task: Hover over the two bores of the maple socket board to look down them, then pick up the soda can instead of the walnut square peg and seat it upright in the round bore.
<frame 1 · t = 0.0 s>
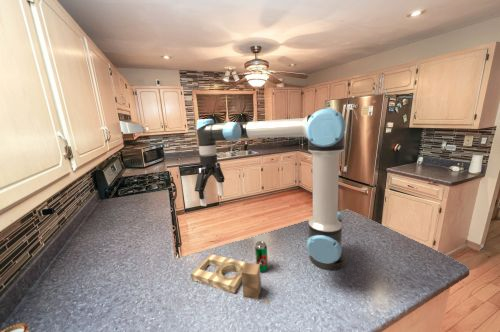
hand: (212, 200, 95), 28 cm above the countertop, fingers open, 13 cm apart
socket board: (221, 274, 87), on the countertop
soda can: (262, 269, 89), on the countertop
walnut square peg: (252, 292, 77), on the countertop
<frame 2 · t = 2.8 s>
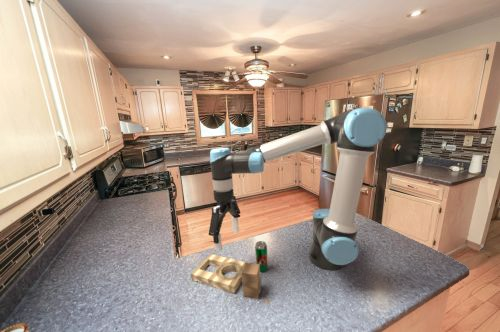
hand: (227, 240, 82), 17 cm above the countertop, fingers open, 13 cm apart
nothing on the countertop moved.
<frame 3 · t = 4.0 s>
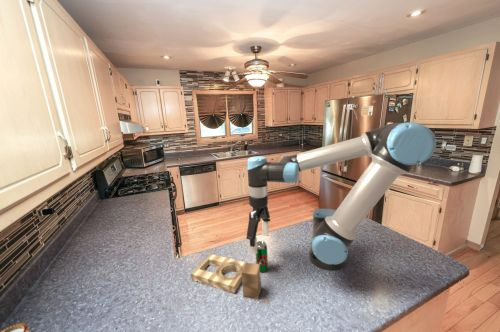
hand: (260, 243, 86), 12 cm above the countertop, fingers open, 13 cm apart
nothing on the countertop moved.
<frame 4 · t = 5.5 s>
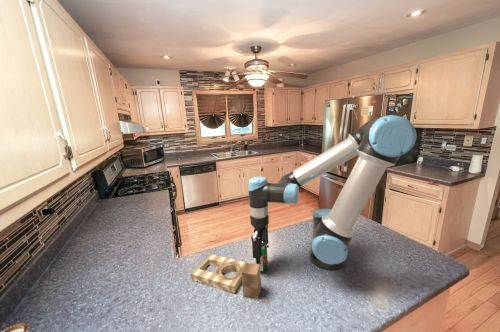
hand: (261, 265, 88), 2 cm above the countertop, fingers closed on soda can, 5 cm apart
soda can: (262, 269, 89), on the countertop, touching gripper
everything else where it was.
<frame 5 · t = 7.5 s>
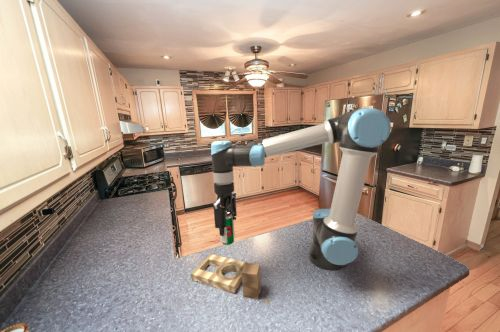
hand: (227, 238, 82), 17 cm above the countertop, fingers closed on soda can, 5 cm apart
soda can: (228, 242, 82), point 15 cm above the countertop, touching gripper
everything else where it was.
when the fingers open (4 cm above the countertop, at t = 9.6 s): soda can drops 2 cm, resting in socket board.
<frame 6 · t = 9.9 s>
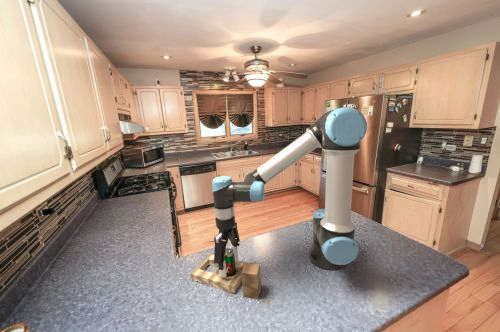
hand: (229, 267, 84), 5 cm above the countertop, fingers open, 9 cm apart
soda can: (230, 277, 85), resting in socket board
everything else where it was.
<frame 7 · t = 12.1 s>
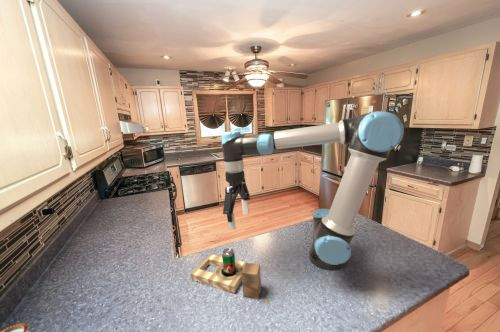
hand: (239, 221, 85), 22 cm above the countertop, fingers open, 13 cm apart
nothing on the countertop moved.
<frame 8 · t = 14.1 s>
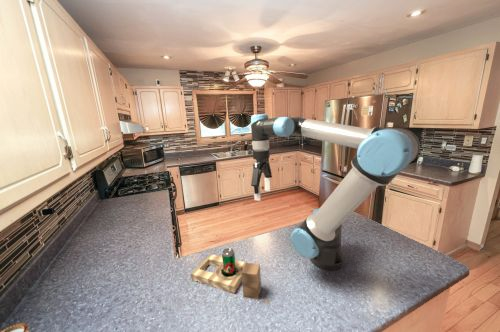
hand: (263, 195, 96), 29 cm above the countertop, fingers open, 13 cm apart
nothing on the countertop moved.
at the end: soda can 0.1 cm from the target spot, resting in socket board; soda can touching countertop; soda can tilted 0° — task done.
